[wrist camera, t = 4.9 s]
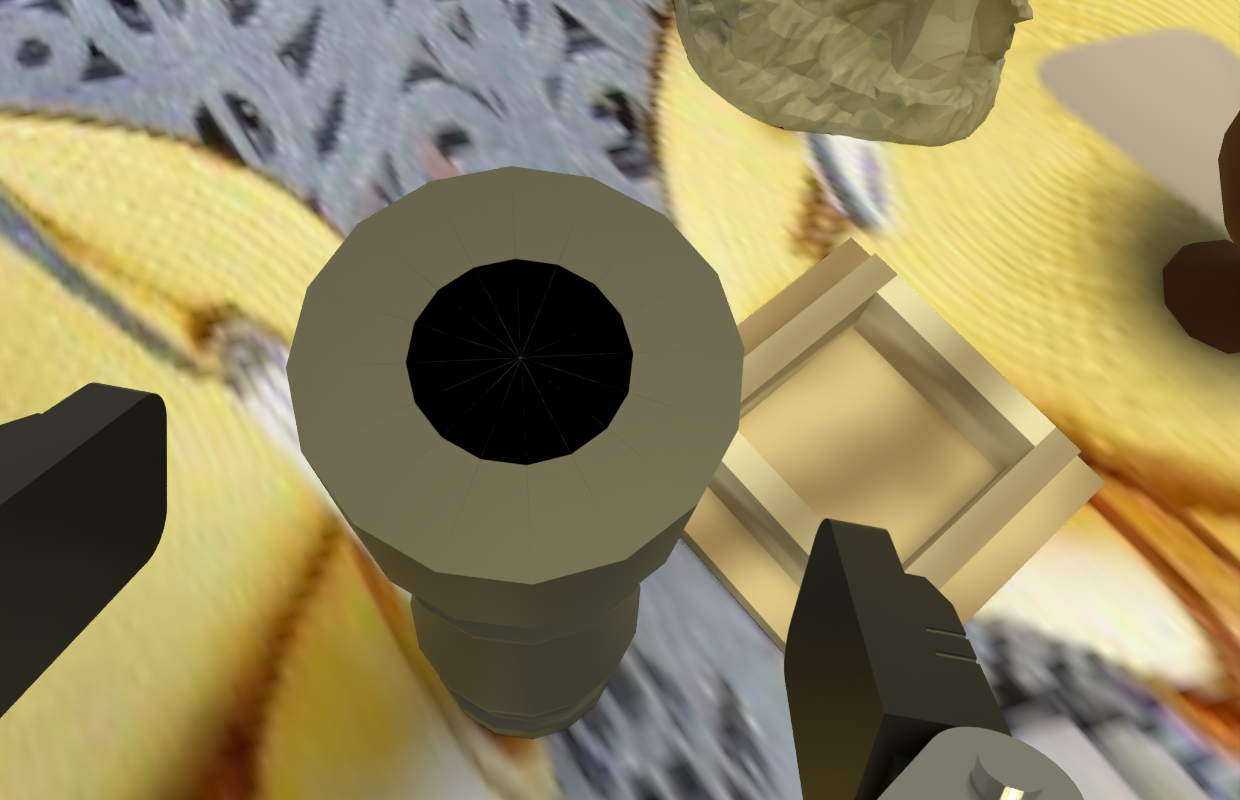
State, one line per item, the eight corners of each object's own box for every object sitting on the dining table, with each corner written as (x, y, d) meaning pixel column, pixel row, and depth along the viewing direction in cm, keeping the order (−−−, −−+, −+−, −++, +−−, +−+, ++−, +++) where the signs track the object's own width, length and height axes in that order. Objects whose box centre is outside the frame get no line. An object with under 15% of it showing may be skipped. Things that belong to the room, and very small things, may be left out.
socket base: (597, 442, 39) (604, 404, 35) (844, 249, 43) (873, 197, 39) (851, 730, 35) (889, 721, 32) (1092, 490, 40) (1149, 457, 36)
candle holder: (438, 567, 36) (275, 155, 13) (607, 556, 37) (733, 146, 14) (442, 746, 34) (251, 627, 11) (621, 731, 35) (800, 588, 12)
